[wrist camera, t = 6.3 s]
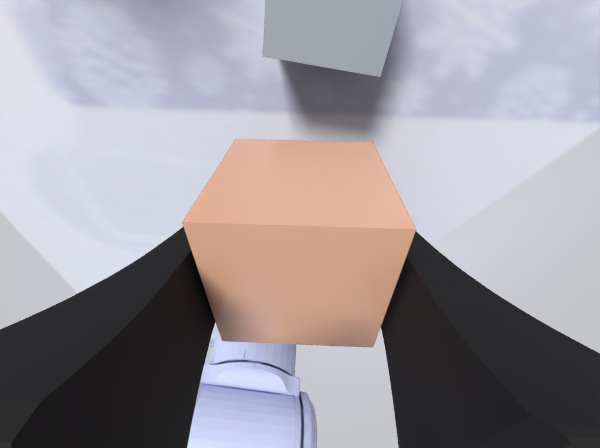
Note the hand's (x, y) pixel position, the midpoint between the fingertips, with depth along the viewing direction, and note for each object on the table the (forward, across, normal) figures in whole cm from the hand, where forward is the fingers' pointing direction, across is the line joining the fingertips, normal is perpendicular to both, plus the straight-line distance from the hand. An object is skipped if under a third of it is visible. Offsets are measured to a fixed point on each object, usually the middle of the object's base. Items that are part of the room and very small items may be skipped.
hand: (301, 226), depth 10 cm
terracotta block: (+2, 0, 0) cm, 2 cm away
